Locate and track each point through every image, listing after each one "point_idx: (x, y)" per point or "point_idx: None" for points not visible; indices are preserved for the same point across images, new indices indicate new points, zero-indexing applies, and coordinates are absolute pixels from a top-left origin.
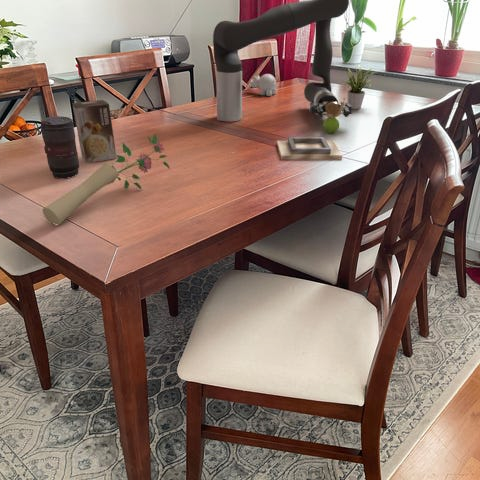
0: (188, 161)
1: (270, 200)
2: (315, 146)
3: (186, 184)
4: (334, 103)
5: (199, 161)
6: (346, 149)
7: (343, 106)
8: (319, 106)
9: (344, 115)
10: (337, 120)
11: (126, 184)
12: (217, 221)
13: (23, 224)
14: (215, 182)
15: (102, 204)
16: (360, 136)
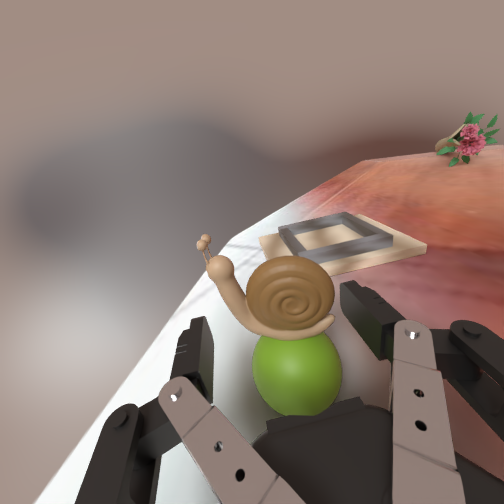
0: (497, 186)
1: (323, 188)
2: (314, 247)
3: (420, 177)
4: (271, 259)
5: (481, 190)
6: (246, 273)
7: (188, 411)
8: (418, 352)
9: (212, 365)
10: (260, 338)
11: (465, 158)
12: (346, 175)
13: None
14: (395, 184)
15: (449, 159)
16: None
